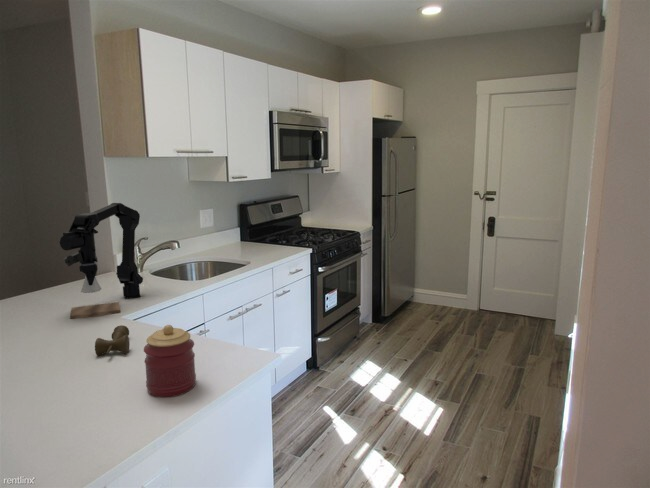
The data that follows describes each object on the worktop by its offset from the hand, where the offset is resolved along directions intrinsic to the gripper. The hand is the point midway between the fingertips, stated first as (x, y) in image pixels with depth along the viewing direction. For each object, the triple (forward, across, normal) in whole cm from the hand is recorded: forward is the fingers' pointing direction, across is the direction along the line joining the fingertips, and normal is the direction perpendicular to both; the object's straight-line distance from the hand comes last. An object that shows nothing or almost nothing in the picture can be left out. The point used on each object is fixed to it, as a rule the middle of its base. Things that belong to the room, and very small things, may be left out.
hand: (90, 283), depth 189 cm
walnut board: (+12, 0, +1) cm, 12 cm away
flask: (+3, 0, 0) cm, 3 cm away
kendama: (+12, +46, +7) cm, 48 cm away
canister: (+12, +81, +20) cm, 84 cm away
